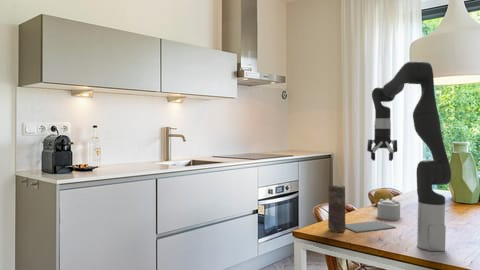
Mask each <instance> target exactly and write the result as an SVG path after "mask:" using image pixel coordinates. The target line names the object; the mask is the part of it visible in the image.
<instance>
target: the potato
mask: <svg viewBox="0 0 480 270" xmlns="http://www.w3.org/2000/svg"><path fill="white" fill-rule="evenodd" d="M372 196H373V197H372V199H373V202H374V204H375V205H376V206H377V207H378V202H379V200H380V199H383V200H384V201H385V200H386V199H389V200H390V201H391V200H392V199H393V194H392V192H391V191H390V190H389V189H386V188H378V189H376V190H375V191H374V193H373V195H372Z"/></svg>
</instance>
